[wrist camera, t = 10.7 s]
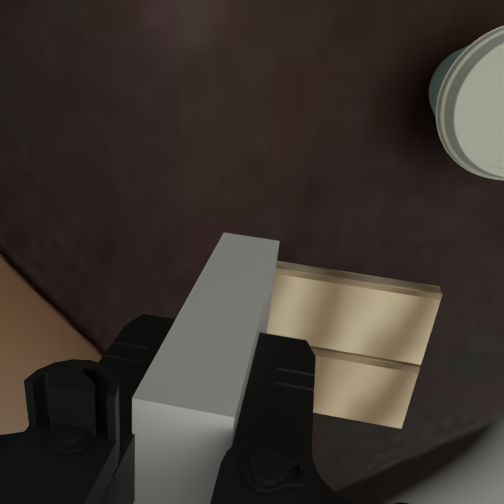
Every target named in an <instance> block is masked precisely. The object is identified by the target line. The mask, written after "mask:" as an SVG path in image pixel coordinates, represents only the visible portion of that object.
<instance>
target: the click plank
mask: <svg viewBox="0 0 504 504" xmlns="http://www.w3.org/2000/svg"><path fill="white" fill-rule="evenodd" d="M441 298H442V292H441V290H440V287H439V286H435V285H429V284H423V283H416V282H410V281H403V280H397V279H391V278H384V277H378V276H372V275H365V274H359V273H353V272H346V271H340V270H333V269H327V268H321V267H314V266H308V265H302V264H295V263H289V262H282V261H277V263H276V270H275V278H274V285H273V292H272V300H271V307H270V314H269V321H268V328H267V334H273V335H279V336H285V337H291V338H296V339H302V340H307V342H308V344H309V345H310V346H314V347H320V348H326V349H332V350H338V351H343V352H349V353H355V354H361V355H367V356H372V357H378V358H384V359H390V360H396V361H401V362H407V363H413V364H419V365H421V363H422V359H423V356H424V353H425V350H426V346H427V343H428V340H429V337H430V333H431V330H432V327H433V324H434V320H435V317H436V314H437V310H438V307H439V304H440V301H441Z"/></svg>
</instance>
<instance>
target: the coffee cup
mask: <svg viewBox="0 0 504 504" xmlns="http://www.w3.org/2000/svg"><path fill="white" fill-rule="evenodd" d="M429 101H430V105H431V108H432V110H433V113H434V115H435V117H436V125H437V130H438V134H439V137H440V140H441V142H442V144H443V146H444V148H445V150H446V151H447V153H448V154H449V155H450V156H451V158H452V159H453V160H454V161H455V162H456V163H458V164H459V165H460V166H461V167H463V168H464V169H466V170H468V171H469V172H471V173H474V174H476V175H479V176H482V177H486V178H490V179H496V180H504V26H501V27H498V28H496V29H494V30H492V31H490V32H488V33H486V34H485V35H483V36H481V37H480V38H479V39H477V40H476V41H474V42H473V43H472V44H471V45H469V46H467V47H464V48H462V49H460V50H458V51H456V52H454V53H452V54H451V55H449V56H448V57H447V58H446V59H444V60H443V61H442V62H441V64H440V65H439V66H438V67H437V69H436V70H435V72H434V74H433V76H432V79H431V82H430V86H429Z"/></svg>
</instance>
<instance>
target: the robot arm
mask: <svg viewBox="0 0 504 504" xmlns="http://www.w3.org/2000/svg"><path fill="white" fill-rule="evenodd" d="M278 249H279V241H276V240H269V239H263V238H256V237H250V236H243V235H237V234H230V233H223V235H222V237H221V239H220V240H219V242H218V244H217V246H216V248H215V249H214V251H213V253H212V255H211V257H210V258H209V260H208V262H207V264H206V266H205V267H204V269H203V271H202V273H201V275H200V276H199V278H198V280H197V282H196V284H195V285H194V287H193V289H192V291H191V293H190V294H189V296H188V298H187V300H186V302H185V304H184V305H183V307H182V309H181V311H180V313H179V314H178V316H177V318H176V319H170V318H164V317H159V316H153V315H147V314H143V315H141V316H140V317H138V318H136V319H135V320H133V321H131V322H130V323H128V324H126V325H125V326H124V328H123V329H122V330H121V332H120V333H119V335H118V336H117V337H116V339H115V340H114V344H113V343H112V344H111V346H110V347H109V349H108V350H107V351H106V353H105V356H103V357H102V358H101V360H100V361H99V362H98V363H97V362H94V361H91V360H75V359H73V360H67V361H61V362H56V363H52V364H51V365H48V366H46V367H43V368H41V369H39V370H37V371H35V372H34V373H33V374H32V375H30V376H29V377H28V378H27V379H25V380H24V385H25V394H26V402H27V411H28V419H29V427H28V428H27V429H26V430H25V431H24V432H19V433H13V434H5V435H0V504H354V503H352V502H350V501H348V500H346V499H345V498H343V497H342V496H340V495H339V494H337V493H335V492H334V491H333V490H332V489H331V488H330V487H329V486H328V485H327V484H326V483H325V482H324V481H323V479H322V478H321V477H320V475H319V474H318V472H317V470H316V468H315V465H314V463H313V460H312V451H311V448H312V427H313V406H314V385H315V364H316V356H315V354H314V353H313V351H312V349H311V347H310V345H309V344H308V342H307V340H302V339H296V338H291V337H285V336H279V335H273V334H267V328H268V321H269V314H270V307H271V300H272V292H273V285H274V278H275V270H276V263H277V256H278ZM395 504H407V503H402V502H400V503H395Z"/></svg>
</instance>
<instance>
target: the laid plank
mask: <svg viewBox="0 0 504 504" xmlns="http://www.w3.org/2000/svg"><path fill="white" fill-rule="evenodd" d="M310 347H311V349H312V351H313V353H314V354H315V356H316V364H315V385H314V406H313V412H314V413H319V414H325V415H330V416H335V417H341V418H346V419H352V420H357V421H362V422H368V423H373V424H379V425H384V426H389V427H395V428H400V429H401V428H402V425H403V422H404V418H405V415H406V412H407V409H408V405H409V402H410V399H411V396H412V392H413V389H414V386H415V382H416V379H417V376H418V373H419V370H420V365H419V364H413V363H407V362H401V361H396V360H390V359H384V358H378V357H372V356H367V355H361V354H355V353H349V352H343V351H338V350H332V349H326V348H320V347H314V346H310Z"/></svg>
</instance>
